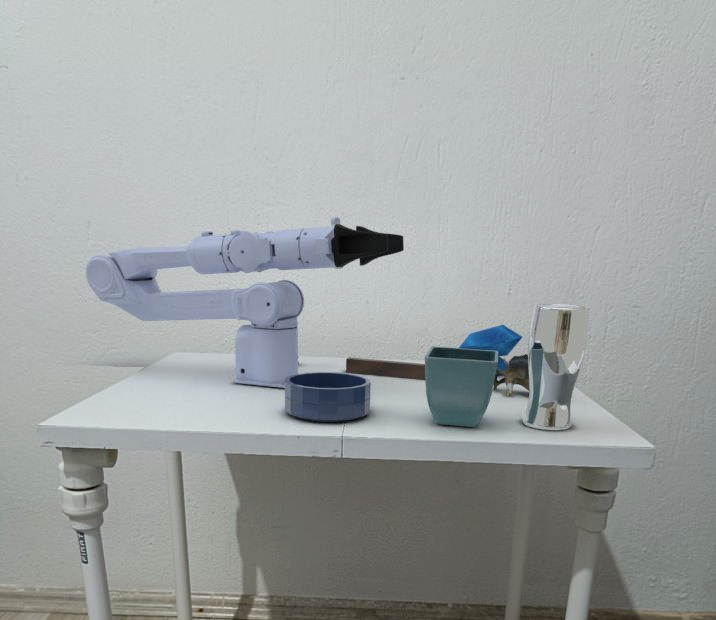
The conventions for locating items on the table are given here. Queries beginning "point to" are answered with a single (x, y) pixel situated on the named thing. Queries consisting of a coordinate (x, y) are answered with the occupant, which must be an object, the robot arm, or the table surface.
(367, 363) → the rail
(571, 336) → the beer glass
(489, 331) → the crystal
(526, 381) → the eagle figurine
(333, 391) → the bowl
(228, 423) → the table surface
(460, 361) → the flower pot
